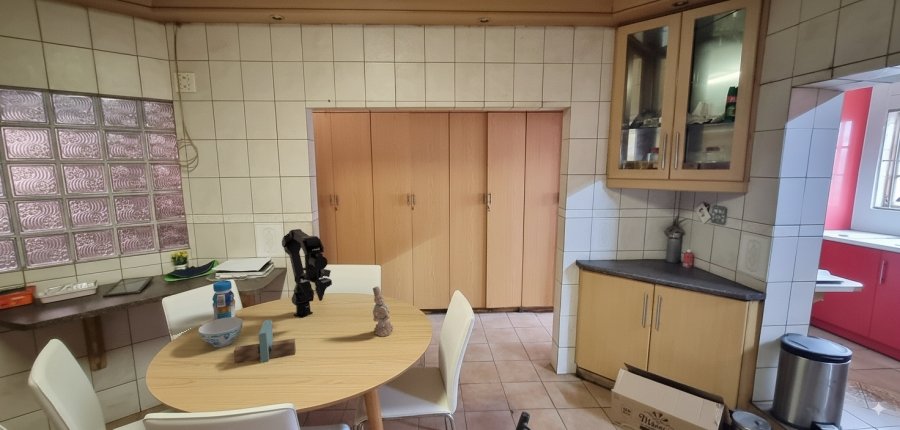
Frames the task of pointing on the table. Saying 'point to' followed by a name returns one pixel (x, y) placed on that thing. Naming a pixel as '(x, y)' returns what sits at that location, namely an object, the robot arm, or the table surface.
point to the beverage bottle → (223, 300)
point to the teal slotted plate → (265, 340)
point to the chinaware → (221, 331)
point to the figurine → (381, 314)
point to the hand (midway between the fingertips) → (313, 298)
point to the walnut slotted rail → (253, 351)
